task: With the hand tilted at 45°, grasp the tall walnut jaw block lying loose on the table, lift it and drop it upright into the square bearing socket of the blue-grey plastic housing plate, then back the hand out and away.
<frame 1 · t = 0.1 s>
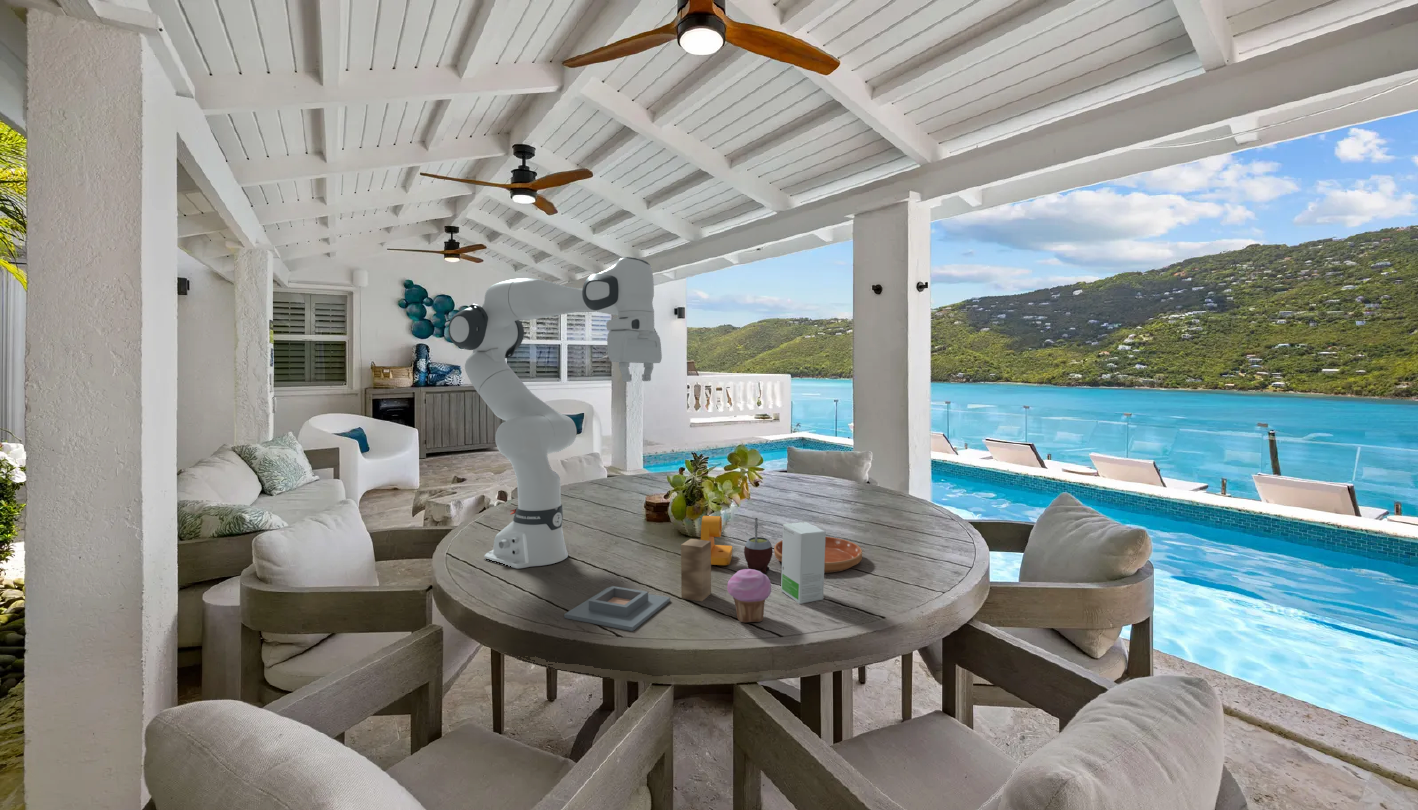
hand: (637, 381, 140), 48 cm above the table, tool pointing down, fingers open, 8 cm apart
jaw block: (696, 595, 128), on the table
cupcake: (749, 619, 116), on the table
saucer: (817, 562, 152), on the table
housing: (619, 609, 121), on the table
mate gourd: (758, 572, 143), on the table
skincare box: (802, 596, 127), on the table
bracket: (716, 561, 152), on the table
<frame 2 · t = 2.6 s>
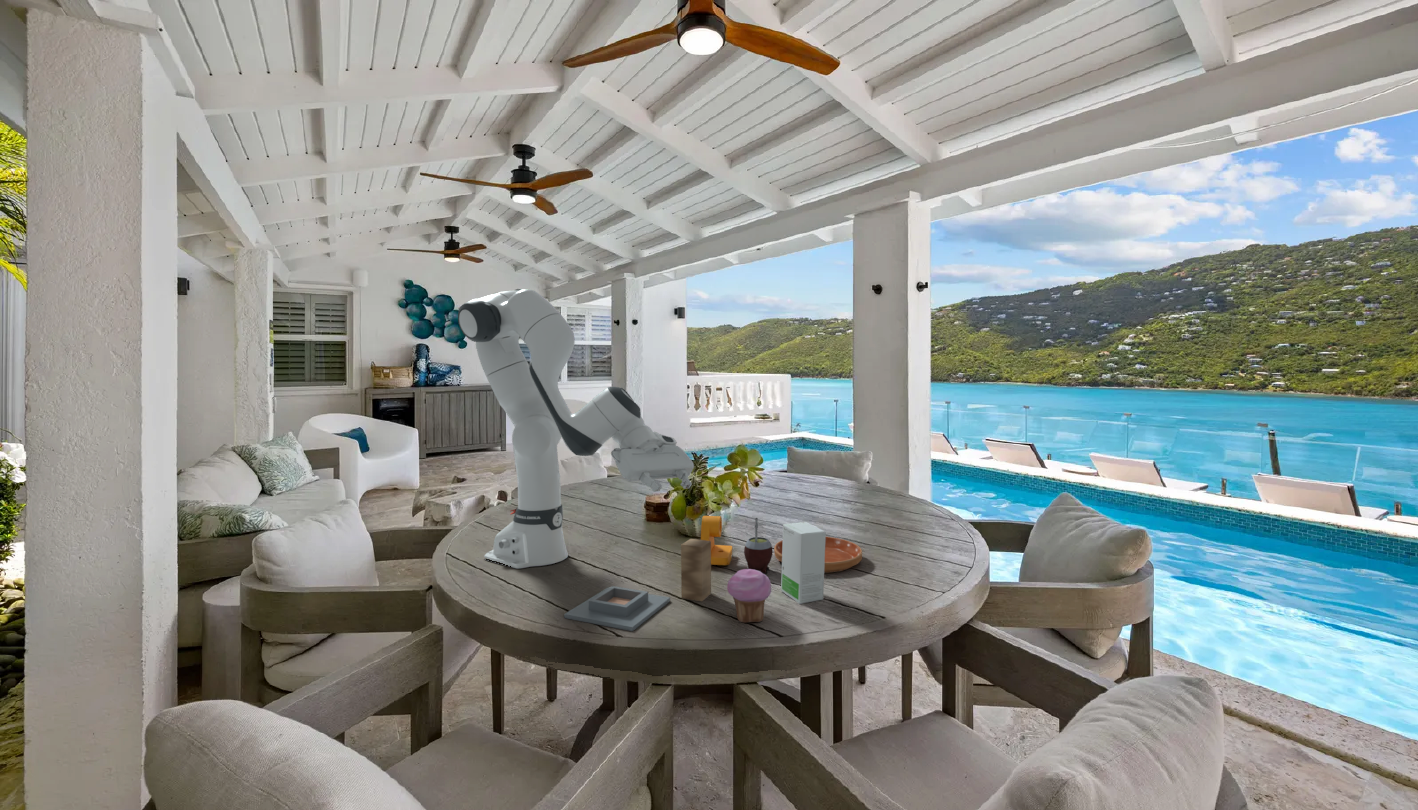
hand: (673, 488, 129), 24 cm above the table, tool tilted 55°, fingers open, 8 cm apart
nothing on the table moved.
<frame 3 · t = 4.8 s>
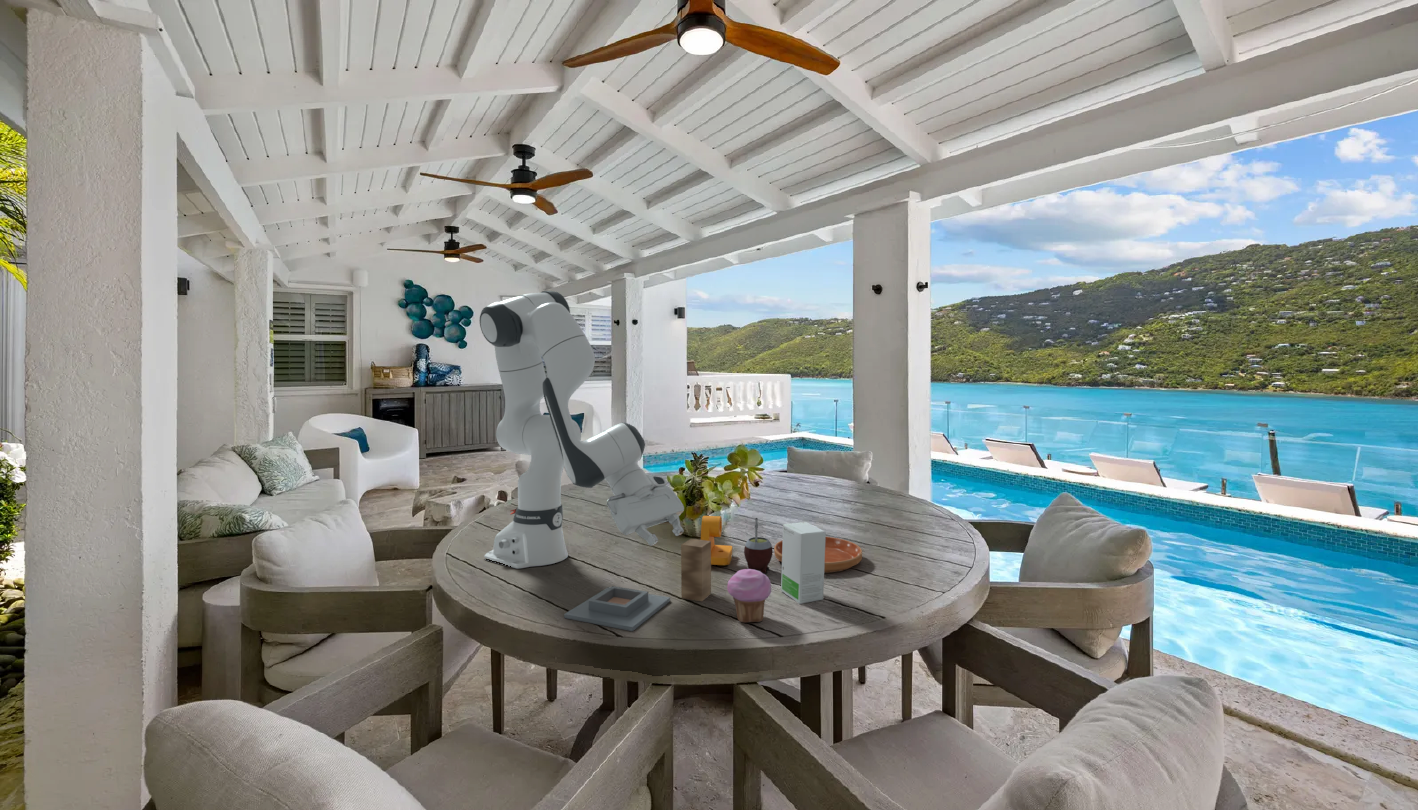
hand: (667, 538, 129), 12 cm above the table, tool tilted 45°, fingers open, 8 cm apart
nothing on the table moved.
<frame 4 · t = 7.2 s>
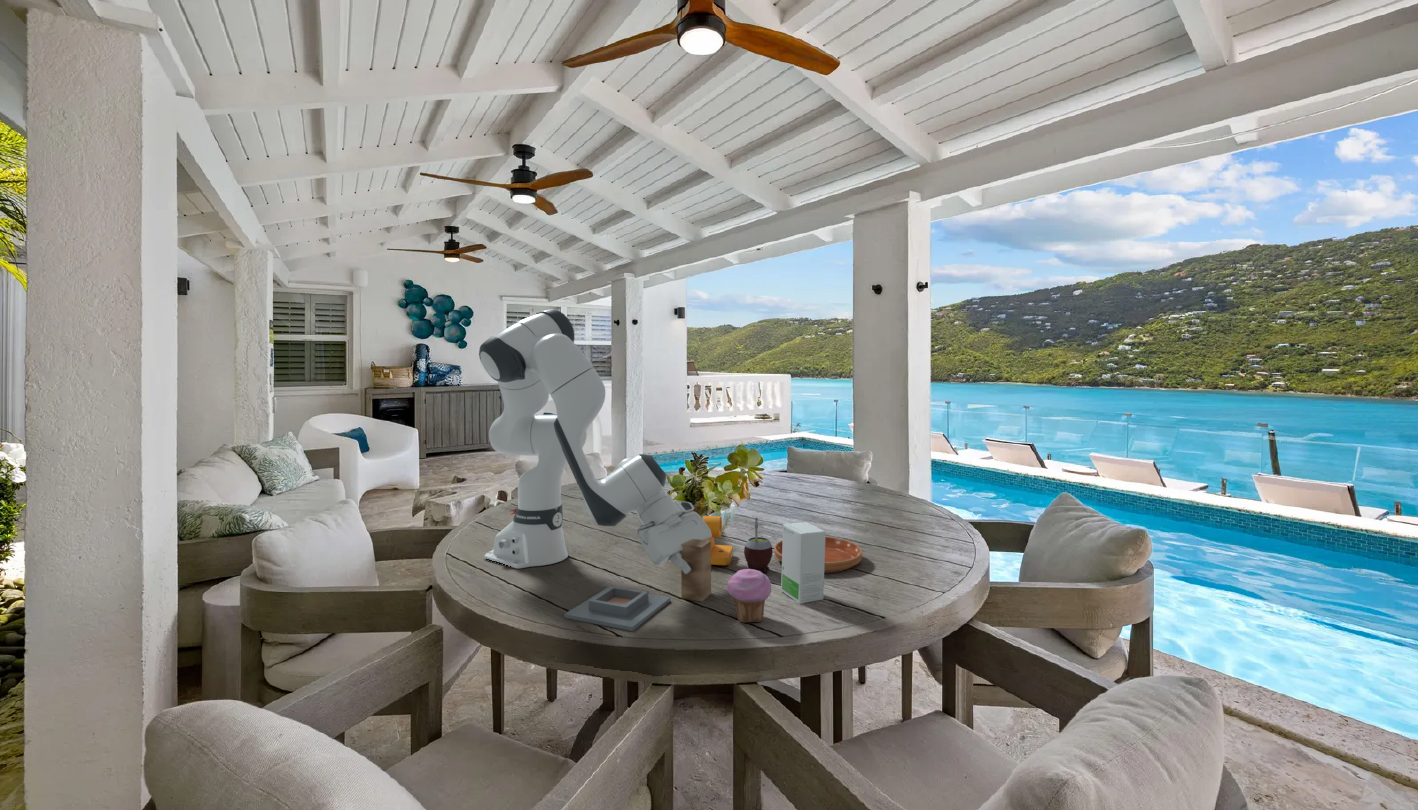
hand: (698, 567, 127), 7 cm above the table, tool tilted 45°, fingers closed on jaw block, 5 cm apart
jaw block: (696, 595, 128), on the table, touching gripper
everything else where it was.
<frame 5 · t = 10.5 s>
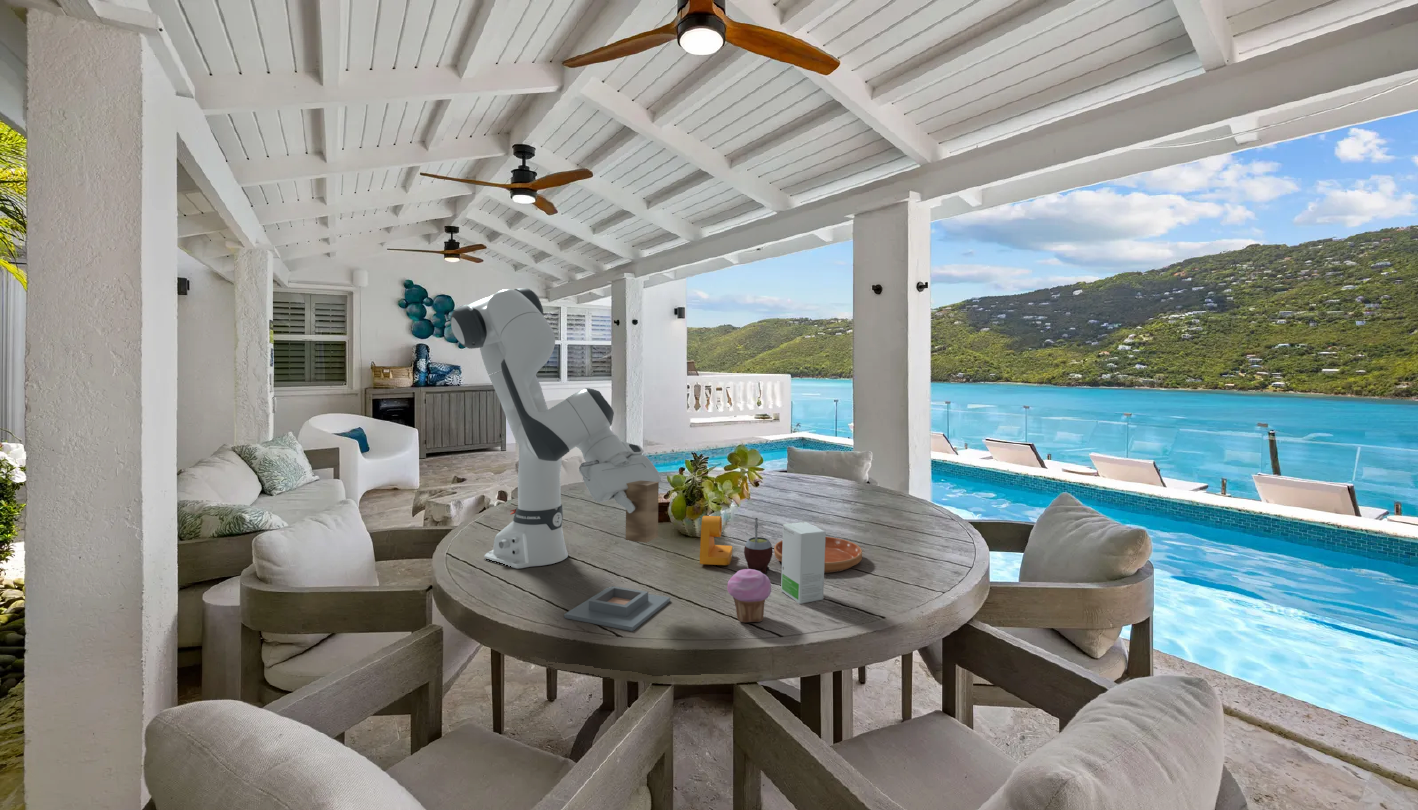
hand: (644, 507, 122), 21 cm above the table, tool tilted 45°, fingers closed on jaw block, 5 cm apart
jaw block: (641, 538, 122), point 14 cm above the table, touching gripper
everything else where it was.
when the fingers open (9 cm above the table, at t = 13.9 s): jaw block drops 1 cm, resting on housing.
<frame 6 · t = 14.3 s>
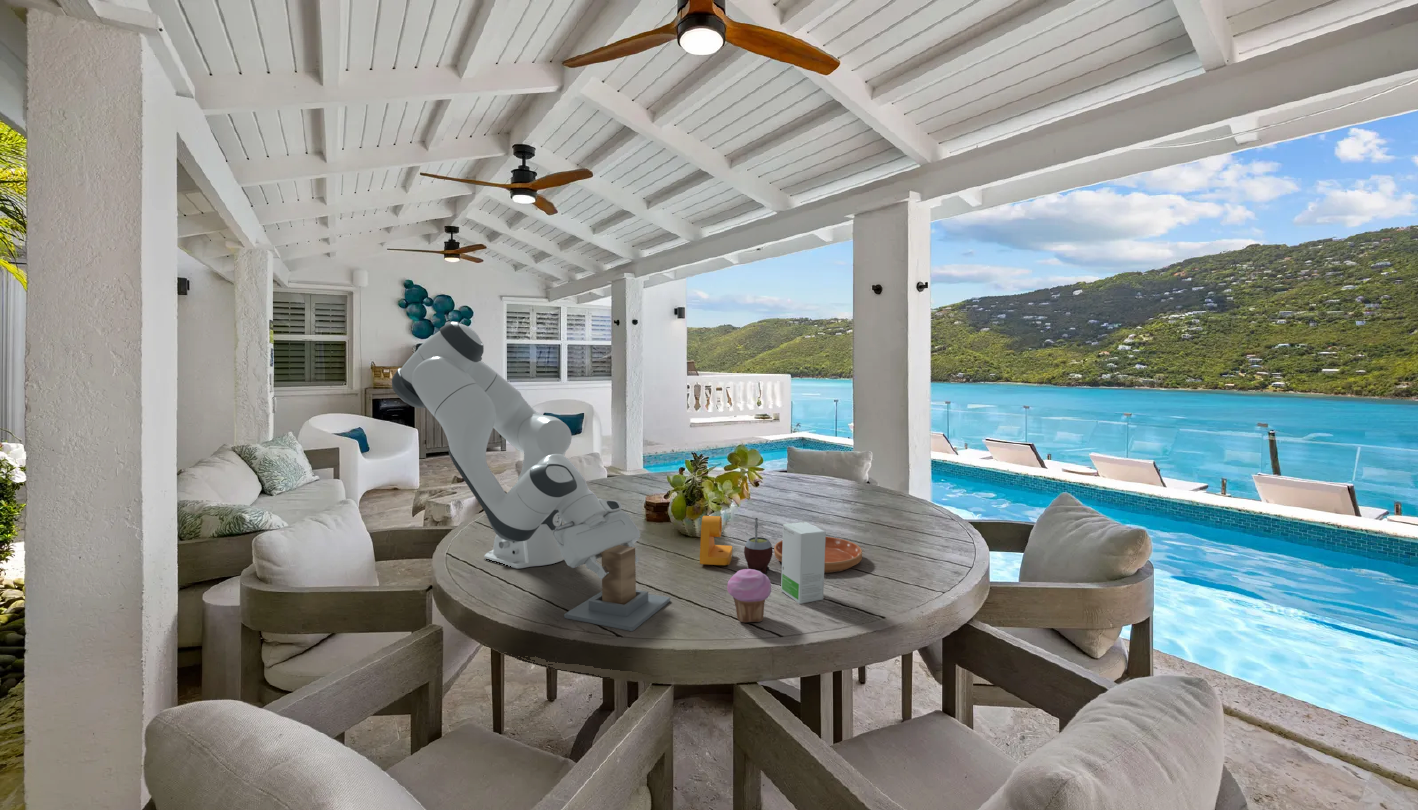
hand: (620, 569, 120), 9 cm above the table, tool tilted 45°, fingers open, 8 cm apart
jaw block: (619, 605, 121), point 1 cm above the table, touching housing
everything else where it was.
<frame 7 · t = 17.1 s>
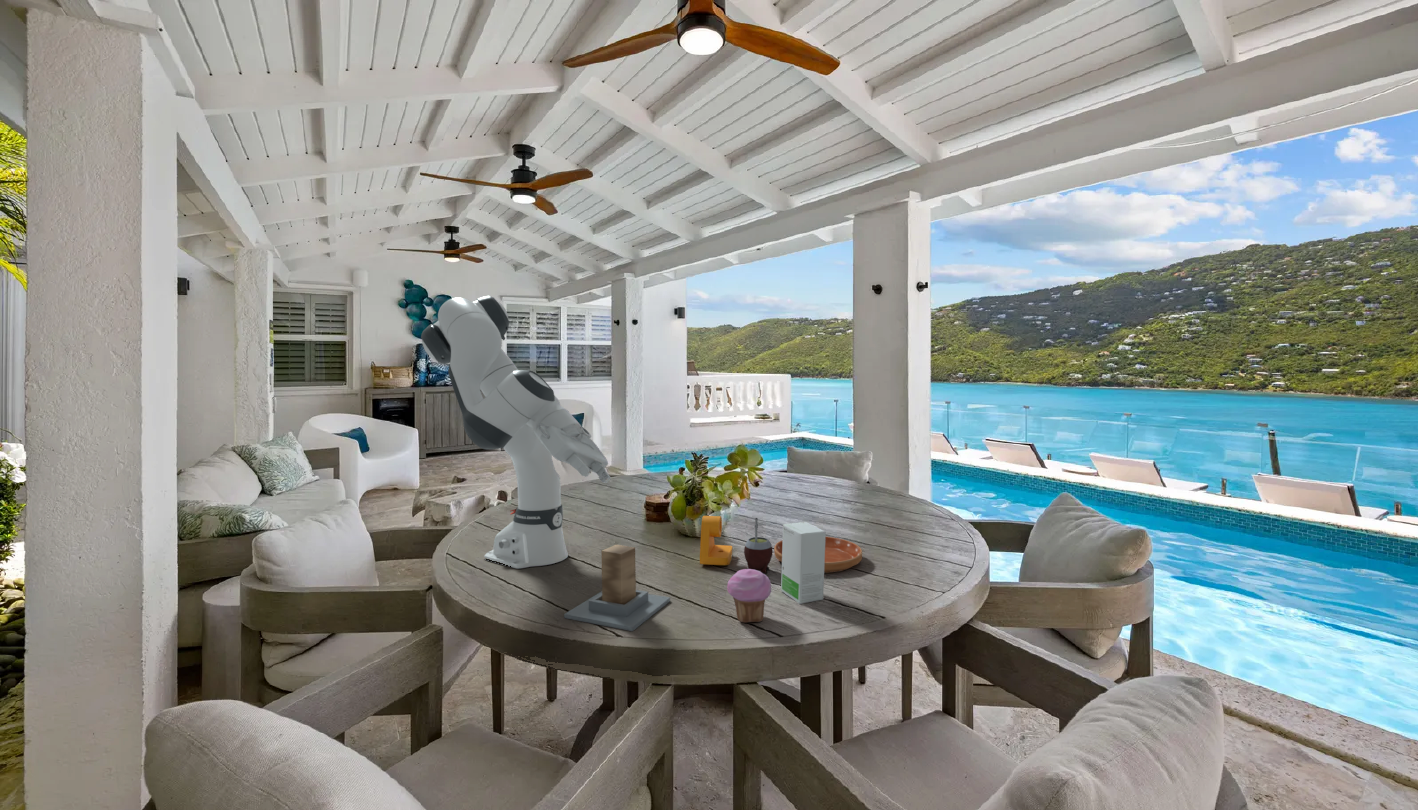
hand: (597, 477, 120), 28 cm above the table, tool tilted 50°, fingers open, 8 cm apart
nothing on the table moved.
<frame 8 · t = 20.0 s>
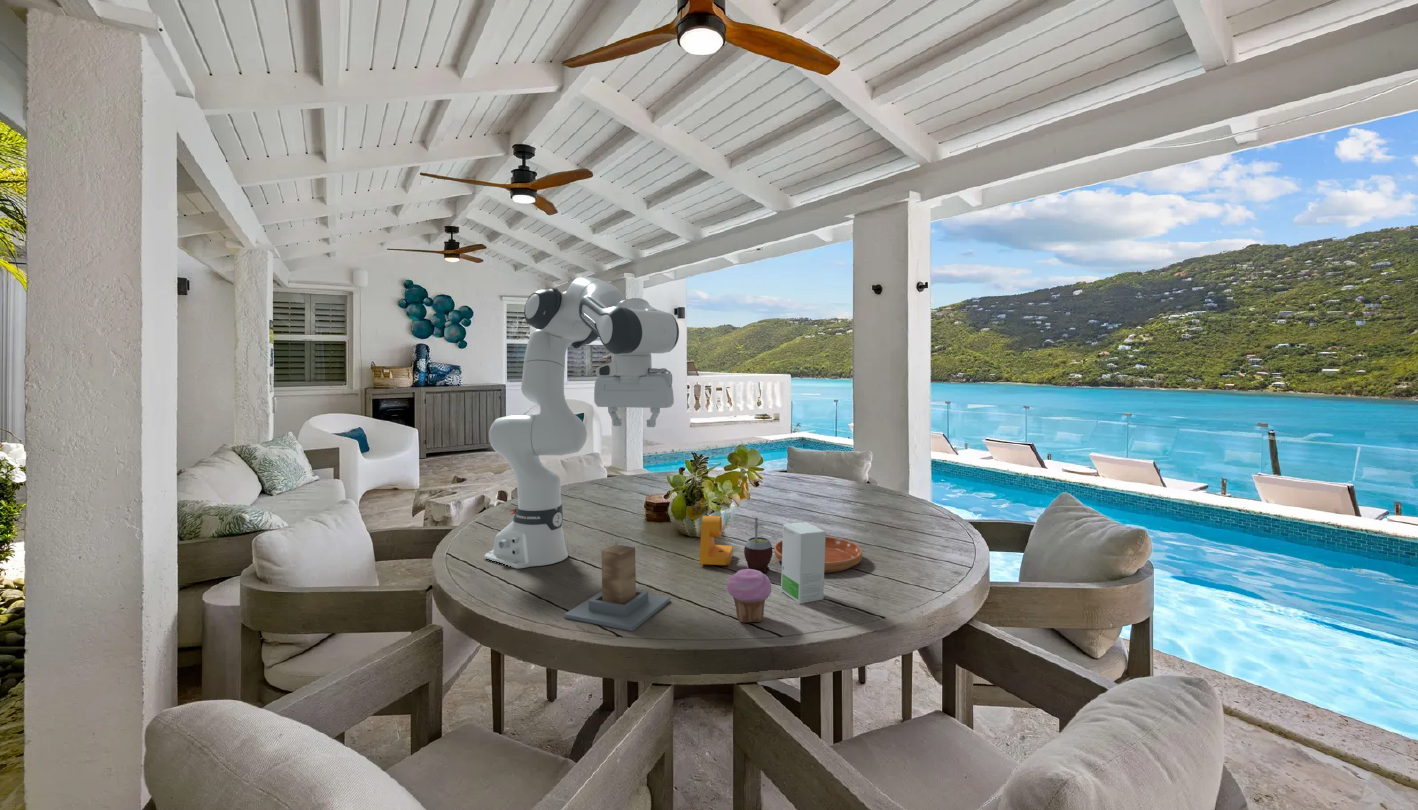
hand: (633, 426, 137), 37 cm above the table, tool pointing down, fingers open, 8 cm apart
nothing on the table moved.
at the end: jaw block 0.1 cm off-centre on the housing, point 0.9 cm above the housing's base; jaw block tilted 0°; the gripper is holding nothing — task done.
